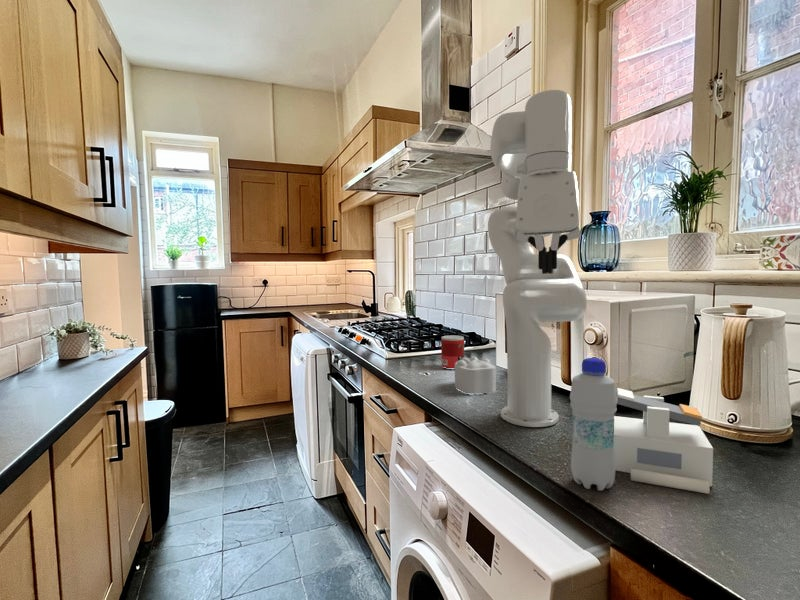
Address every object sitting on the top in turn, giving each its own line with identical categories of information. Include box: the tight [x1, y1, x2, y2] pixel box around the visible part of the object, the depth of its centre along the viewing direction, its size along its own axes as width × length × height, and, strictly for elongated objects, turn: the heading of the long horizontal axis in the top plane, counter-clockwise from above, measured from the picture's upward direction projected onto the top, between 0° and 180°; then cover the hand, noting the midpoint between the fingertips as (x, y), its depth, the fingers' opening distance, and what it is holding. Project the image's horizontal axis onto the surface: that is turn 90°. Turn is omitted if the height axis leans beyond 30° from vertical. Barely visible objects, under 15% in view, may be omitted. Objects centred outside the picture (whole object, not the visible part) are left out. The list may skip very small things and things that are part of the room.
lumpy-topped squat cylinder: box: [454, 356, 497, 393], centre depth 119 cm, size 10×13×9 cm
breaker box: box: [614, 395, 714, 487], centre depth 70 cm, size 10×14×11 cm
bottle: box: [569, 357, 618, 492], centre depth 64 cm, size 7×7×20 cm
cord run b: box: [630, 468, 711, 494], centre depth 63 cm, size 10×2×2 cm, turn 64°
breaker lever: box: [616, 387, 703, 427], centre depth 70 cm, size 5×12×2 cm, turn 64°
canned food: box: [440, 334, 465, 368], centre depth 144 cm, size 8×8×11 cm
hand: (547, 273), depth 73 cm, fingers closed
